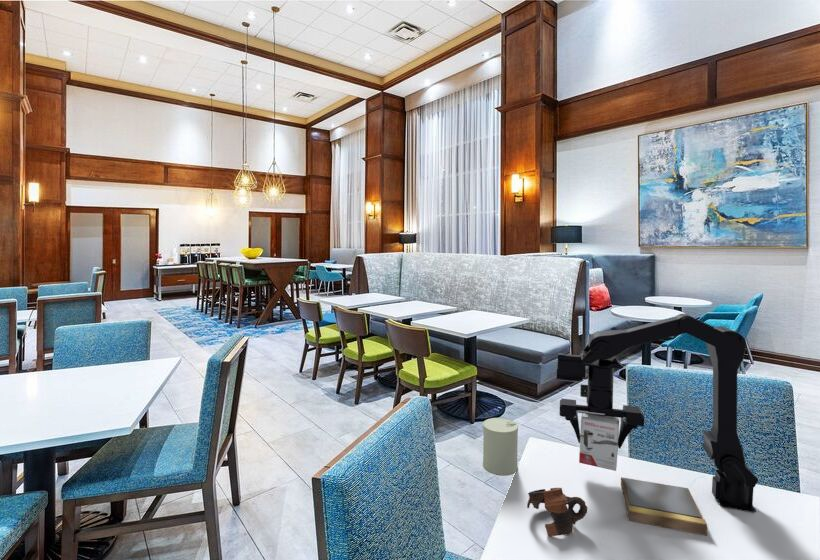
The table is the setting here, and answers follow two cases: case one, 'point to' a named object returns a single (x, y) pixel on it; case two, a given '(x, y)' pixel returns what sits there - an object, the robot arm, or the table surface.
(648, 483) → the framed panel
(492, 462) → the can
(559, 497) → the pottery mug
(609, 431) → the ink box
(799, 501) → the table surface
